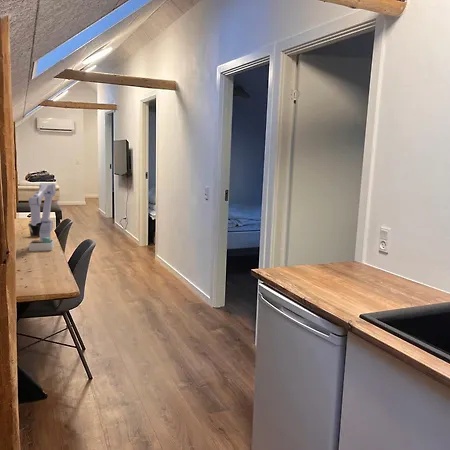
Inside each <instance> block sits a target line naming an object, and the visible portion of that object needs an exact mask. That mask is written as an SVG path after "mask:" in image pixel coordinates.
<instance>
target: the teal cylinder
mask: <svg viewBox="0 0 450 450" xmlns="http://www.w3.org/2000/svg"><path fill="white" fill-rule="evenodd" d="M42 241H43V243H51V241H50V237H44V238H42Z"/></svg>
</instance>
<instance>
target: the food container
mask: <svg viewBox="0 0 450 450" xmlns="http://www.w3.org/2000/svg"><path fill="white" fill-rule="evenodd" d="M27 224H28V225H27V226H28V228H29V234H30V237H35V236H34V235H33V231H32V229H31V227H30V225H33V224H32V223H31V222H29V223H27ZM37 236H40V234H38V235H37Z"/></svg>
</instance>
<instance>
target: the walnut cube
mask: <svg viewBox="0 0 450 450" xmlns="http://www.w3.org/2000/svg"><path fill="white" fill-rule="evenodd" d="M33 240H34V241H33V242H32V244H34V243H42V240H40V239H33Z"/></svg>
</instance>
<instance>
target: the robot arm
mask: <svg viewBox="0 0 450 450" xmlns="http://www.w3.org/2000/svg"><path fill="white" fill-rule="evenodd" d="M56 188H57V187H56V184H55V183H54V182H53V183H52V182H51V183H50V182H47V183H45V182H41V183H39V186H38V190H36V191H35V193H34V194H33V195H32V196H30V197H29V198H28V205H29V208H30V220H29V223H32V224H33V225H30V227H31V229H32V231H33V235H34V236H33V237H35V236H37V235H38V234H40V237H39V240H42V238H44V237H50V240H52V237H51V232H53V229H54V223H53V220H52V219H50V216H51V209H52V201H53V198H54V197H55V196H56V190H57V189H56ZM43 198H44V202H43V207H42V208H43V209H42V214H41V205H42V199H43ZM41 215H42V216H41Z"/></svg>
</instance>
